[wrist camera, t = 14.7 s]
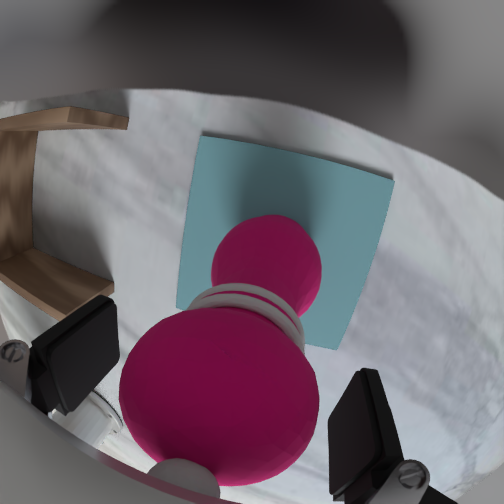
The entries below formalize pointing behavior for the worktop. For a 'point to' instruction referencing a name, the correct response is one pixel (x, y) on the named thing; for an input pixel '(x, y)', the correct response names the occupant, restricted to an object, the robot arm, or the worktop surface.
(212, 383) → the pepper mill
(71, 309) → the open side box
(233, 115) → the worktop surface
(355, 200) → the mat
